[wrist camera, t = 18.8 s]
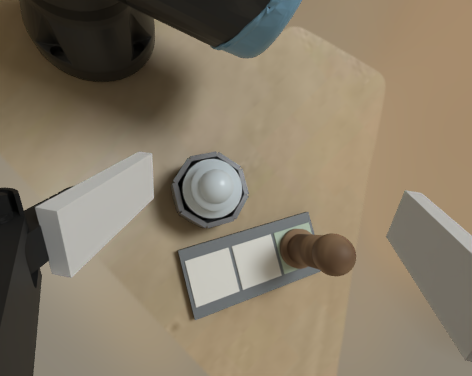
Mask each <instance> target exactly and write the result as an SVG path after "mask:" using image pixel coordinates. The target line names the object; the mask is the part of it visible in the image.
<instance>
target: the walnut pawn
mask: <svg viewBox="0 0 472 376" xmlns="http://www.w3.org/2000/svg"><path fill="white" fill-rule="evenodd" d="M280 254H281V257H282V259H283V260H284V262H285V263H286V264H287V265H289V266H291V267H294V268H297V269H303V268H306V267H312V268H315V269H319V270H320V271H322V272H323V273H325V274H327V275H330V276H342V275H344V274H346V273H348V272H349V271H350V270H351V269H352V268H353V267H354V265H355V261H356V252H355V249H354V247H353V245H352V243H351V242H350V241H349V240H348V239H346V238H345V237H343V236H341V235H338V234H326V235H312V234H311V233H310V232H309V231H307V230H304V229H292V230H289V231H288V232H286V233H285V234H284V236H283V237H282V239H281V242H280Z"/></svg>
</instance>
